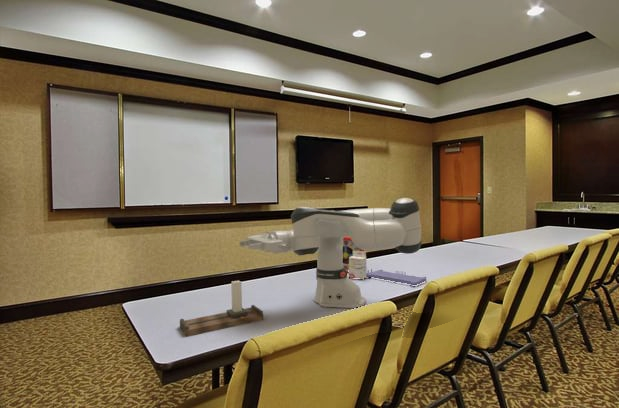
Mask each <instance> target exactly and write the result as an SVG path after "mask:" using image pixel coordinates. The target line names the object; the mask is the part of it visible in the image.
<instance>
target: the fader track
mask: <svg viewBox="0 0 619 408" xmlns="http://www.w3.org/2000/svg"><path fill="white" fill-rule="evenodd" d="M244 309H245V310H246V311H248V315H244V316H239V317H235V318H232V317H230V316H229V315H228V314H227V311H226V312H222V313H216V314H211V315H206V316H201V317H195V318H191V319H184V318H180V319H179V328H180V330H181V331H182V332H183V334H184V335H185V337H190V336H191V337H192V336H195V335H200V334H204V333H209V332H213V331H218V330H221V329H227V328H231V327H236V326H240V325H245V324H249V323H253V322H258V321H264V311H263V310H261V308H259V307H257V306H256V305H254V304H251V305H250V307H245V308H244Z"/></svg>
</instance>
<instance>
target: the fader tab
mask: <svg viewBox="0 0 619 408" xmlns="http://www.w3.org/2000/svg"><path fill="white" fill-rule="evenodd" d="M230 284H231V309H226V312H227V314H228V315H229V316H230V317H232V318H235V317H239V316H244V315H248V311H246V310H245V309H246V308H243V300H242V299H243V296H242V294H243V293H242V292H243V291H242V281H240V280H234V281H233V280H232V281H231V283H230Z"/></svg>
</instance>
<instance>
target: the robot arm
mask: <svg viewBox="0 0 619 408" xmlns="http://www.w3.org/2000/svg"><path fill="white" fill-rule="evenodd" d="M420 217H421V215H420V207H419V203H418V201H417V200H415V199H413V198H409V197H401V198H398V199H395V200H394V201H393V202H392V204H391V207H390V208H388V207H372V208H371V207H370V208H368V207H367V208H355V209H347V210H333V209H331V210H330V209H317V208H313V207H309V206H298V207H296V208H295V209H294V210H293V211H292V213H291V215H290V219H291V224H292V229H290V230H284V229H283V230H272V231H269V232H267V231H266V232H264V233H262V234H256V235H250V236H249V235H248V236H247V237H246V239H245V240H240V241H239V242H238V246H240V247H245V246H248V249H249V250H250V251H251V250H260V251H263V252H265V253H273V254H274V255H276V254H283V253H288V252H293V253H294V254H296V255H297V256H299V257H300V256H305V255H306V256H307V255H313V254H315V253H316V256H317V257H316V259H317V261H316V263H317V267H316V272H315V273H316V274H315V277H316V289H315V295H314V299H313V301H314V302H315V303H316V304H318V305H319V306H321V307H325V308H326V307H327V308H341V309H343V308H344V309H345V308H346V309H357V308H356V307H359V308H361V307H360V306H362V307H363V306H365V304H366V303H367V298H366V296H362V292H361V289H360V286H359V285H358V284H357V283H356V282H354V281H353V279H349V276H348V273H349V272H348V269H347V270H345V269H344V268H343V237H350V238H351V240H352V242H353V243H354V244H355V245H356V246H357V247H358V248H359V249H362V250H364V251H380V250H387V249H393V248H395V249H396V251H398V253H402V254H407V255H409V254H414V253H417V252H418V251H419V250H420V249H421V246H422V223H421V218H420ZM347 272H348V273H347Z"/></svg>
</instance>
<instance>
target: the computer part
mask: <svg viewBox="0 0 619 408" xmlns="http://www.w3.org/2000/svg"><path fill="white" fill-rule="evenodd" d="M370 269H371V270H370V271H369V270H367V277H374V278H379V279H384V280H390V281H395V282H401V283H407V284H411V285H417V284H420V283H422V282H424V281H426V282H427V276H414V275H408V274H406V272H405V271H401V273H400V271H399V270H397V272H391V271H386V270H385V271H384V270H383V269H379V270H378V269H377V270H375V271H373V269H372V268H370Z"/></svg>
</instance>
